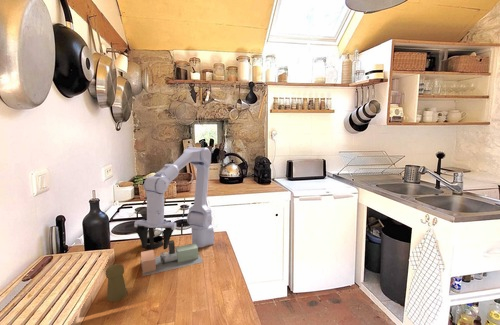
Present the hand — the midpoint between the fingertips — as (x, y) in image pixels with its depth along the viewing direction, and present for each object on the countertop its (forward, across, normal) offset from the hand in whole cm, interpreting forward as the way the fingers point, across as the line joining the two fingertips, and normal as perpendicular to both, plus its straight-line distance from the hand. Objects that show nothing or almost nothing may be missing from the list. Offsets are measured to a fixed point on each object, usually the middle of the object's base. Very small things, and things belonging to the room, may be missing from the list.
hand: (155, 247), depth 96 cm
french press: (+10, -10, +22) cm, 27 cm away
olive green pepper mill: (+12, -7, -12) cm, 19 cm away
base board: (+10, +3, +9) cm, 14 cm away
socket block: (+10, -5, +5) cm, 12 cm away
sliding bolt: (+9, +5, +11) cm, 15 cm away
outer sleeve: (+8, +8, +12) cm, 17 cm away
